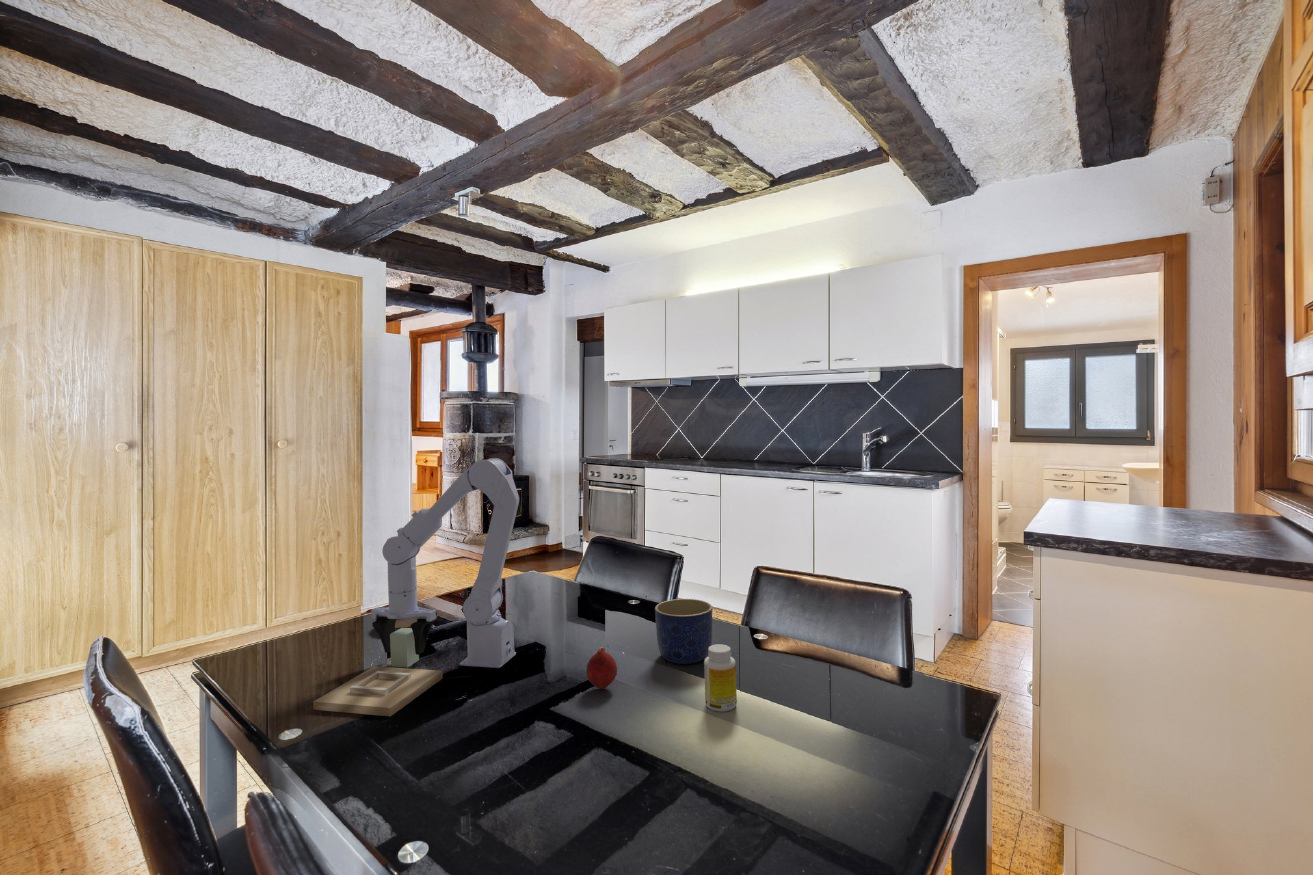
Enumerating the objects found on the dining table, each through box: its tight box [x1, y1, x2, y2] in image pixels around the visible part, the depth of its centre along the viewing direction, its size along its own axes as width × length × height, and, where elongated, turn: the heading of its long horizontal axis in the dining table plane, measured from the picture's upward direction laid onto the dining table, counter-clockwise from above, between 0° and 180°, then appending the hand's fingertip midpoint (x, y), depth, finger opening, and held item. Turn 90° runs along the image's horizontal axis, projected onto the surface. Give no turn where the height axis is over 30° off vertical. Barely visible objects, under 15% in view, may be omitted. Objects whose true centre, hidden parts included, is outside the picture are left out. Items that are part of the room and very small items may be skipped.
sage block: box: [390, 628, 420, 668], centre depth 126 cm, size 4×4×7 cm
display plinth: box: [312, 666, 444, 717], centre depth 111 cm, size 16×16×2 cm
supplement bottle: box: [703, 643, 738, 713], centre depth 102 cm, size 6×6×10 cm
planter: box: [654, 598, 713, 665], centre depth 125 cm, size 12×12×11 cm
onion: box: [586, 646, 618, 691], centre depth 110 cm, size 6×6×8 cm
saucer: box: [394, 611, 439, 632], centre depth 151 cm, size 15×15×3 cm
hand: (404, 651), depth 126 cm, fingers open, 7 cm apart
